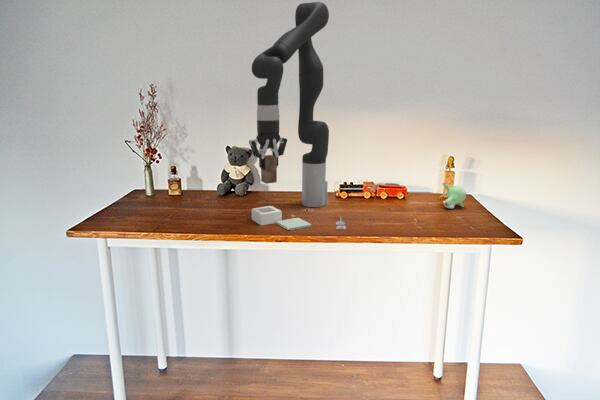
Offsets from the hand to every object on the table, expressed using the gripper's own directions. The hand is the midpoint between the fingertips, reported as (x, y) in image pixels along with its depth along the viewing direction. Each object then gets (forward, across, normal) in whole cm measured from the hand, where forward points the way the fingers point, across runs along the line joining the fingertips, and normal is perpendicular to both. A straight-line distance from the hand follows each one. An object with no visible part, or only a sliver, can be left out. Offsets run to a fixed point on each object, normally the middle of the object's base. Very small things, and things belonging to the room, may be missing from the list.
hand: (268, 168), depth 165 cm
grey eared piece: (+20, -21, +14) cm, 32 cm away
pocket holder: (+19, +1, -1) cm, 19 cm away
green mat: (+19, -5, +8) cm, 21 cm away
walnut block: (+5, 0, 0) cm, 5 cm away
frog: (+20, -71, +18) cm, 76 cm away
